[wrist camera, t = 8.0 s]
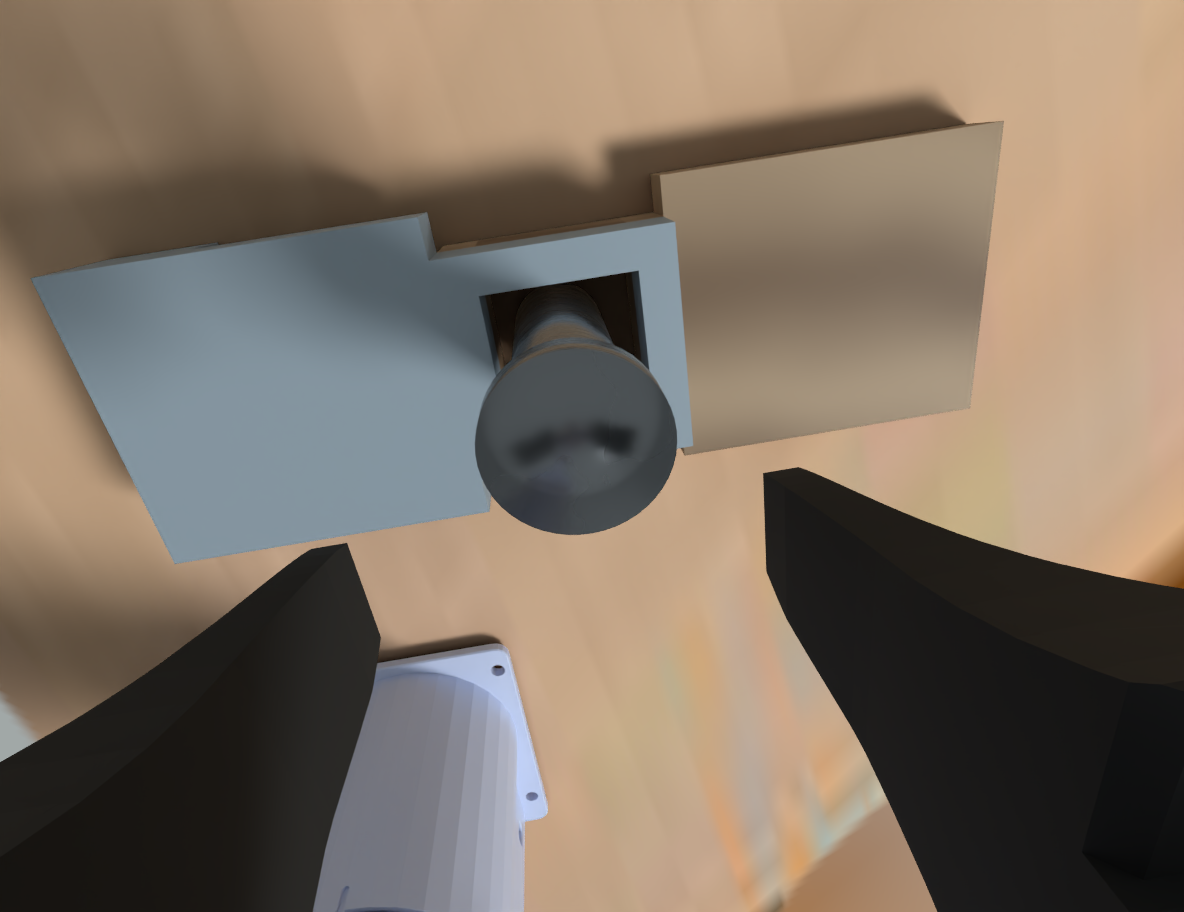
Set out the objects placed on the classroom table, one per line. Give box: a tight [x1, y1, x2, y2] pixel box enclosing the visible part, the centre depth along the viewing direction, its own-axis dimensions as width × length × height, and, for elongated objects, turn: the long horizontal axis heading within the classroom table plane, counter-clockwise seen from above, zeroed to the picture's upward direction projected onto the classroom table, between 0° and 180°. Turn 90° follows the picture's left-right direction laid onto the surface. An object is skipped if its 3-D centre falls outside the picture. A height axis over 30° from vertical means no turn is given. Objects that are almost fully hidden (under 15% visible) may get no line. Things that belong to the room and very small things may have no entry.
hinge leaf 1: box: [31, 212, 693, 564], centre depth 18 cm, size 8×15×3 cm, turn 98°
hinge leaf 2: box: [437, 121, 1004, 455], centre depth 19 cm, size 8×15×2 cm, turn 98°
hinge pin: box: [475, 283, 677, 535], centre depth 15 cm, size 4×4×9 cm
